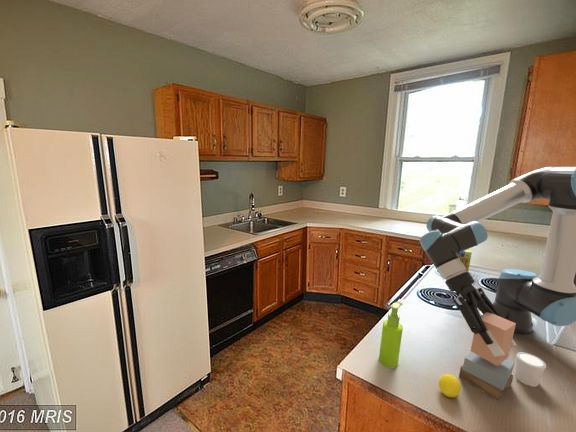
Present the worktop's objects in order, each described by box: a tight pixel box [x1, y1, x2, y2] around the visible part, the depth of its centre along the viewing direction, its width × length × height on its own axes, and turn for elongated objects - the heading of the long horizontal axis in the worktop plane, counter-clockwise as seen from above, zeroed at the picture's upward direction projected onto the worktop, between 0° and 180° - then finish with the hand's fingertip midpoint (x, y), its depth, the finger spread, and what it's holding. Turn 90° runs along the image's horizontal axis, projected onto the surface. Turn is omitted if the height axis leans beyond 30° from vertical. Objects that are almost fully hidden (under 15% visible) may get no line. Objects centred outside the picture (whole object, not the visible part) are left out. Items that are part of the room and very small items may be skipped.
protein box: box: [456, 248, 472, 272], centre depth 168 cm, size 10×15×16 cm
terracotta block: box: [470, 312, 516, 366], centre depth 80 cm, size 7×7×11 cm
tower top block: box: [462, 350, 515, 390], centre depth 82 cm, size 10×10×4 cm
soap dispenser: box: [378, 301, 404, 369], centre depth 89 cm, size 6×7×20 cm
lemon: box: [438, 373, 462, 398], centre depth 78 cm, size 7×5×5 cm
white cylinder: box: [514, 351, 547, 388], centre depth 84 cm, size 7×7×7 cm
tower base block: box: [458, 363, 514, 401], centre depth 83 cm, size 10×10×4 cm
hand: (505, 350), depth 78 cm, fingers closed on terracotta block, 7 cm apart
